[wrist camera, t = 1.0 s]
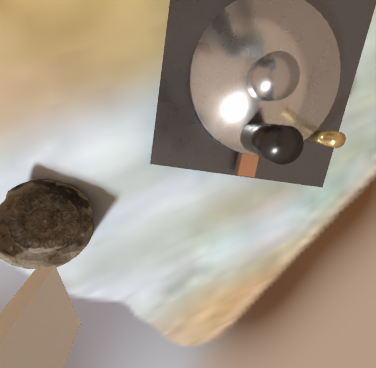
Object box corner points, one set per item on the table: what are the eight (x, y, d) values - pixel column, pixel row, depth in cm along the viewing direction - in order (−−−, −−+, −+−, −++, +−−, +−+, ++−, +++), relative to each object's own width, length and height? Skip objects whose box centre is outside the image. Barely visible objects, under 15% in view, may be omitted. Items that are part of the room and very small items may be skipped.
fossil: (97, 175, 33) (79, 244, 25) (106, 222, 39) (94, 288, 32) (2, 174, 31) (-45, 246, 24) (27, 222, 38) (-5, 291, 30)
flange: (203, -19, 26) (222, -85, 17) (351, 14, 28) (435, -30, 19) (176, 164, 31) (180, 185, 22) (305, 182, 33) (356, 208, 24)
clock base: (176, -45, 28) (179, -95, 21) (365, -1, 30) (422, -33, 24) (151, 160, 33) (147, 173, 26) (313, 183, 36) (348, 199, 29)
